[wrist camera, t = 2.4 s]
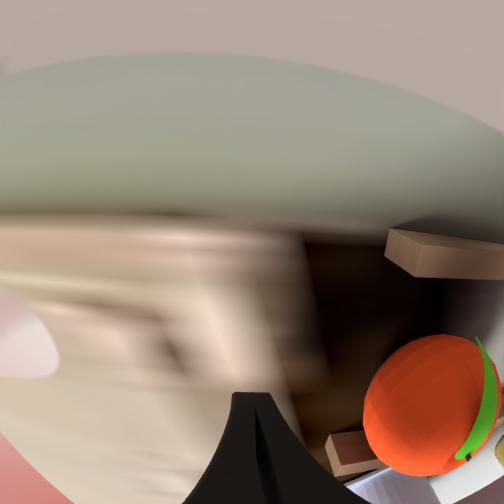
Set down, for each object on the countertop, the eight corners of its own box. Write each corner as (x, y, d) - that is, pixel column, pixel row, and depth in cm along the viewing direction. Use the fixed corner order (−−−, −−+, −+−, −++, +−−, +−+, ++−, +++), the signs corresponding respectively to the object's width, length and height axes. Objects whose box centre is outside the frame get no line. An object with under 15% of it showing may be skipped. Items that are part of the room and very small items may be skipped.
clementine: (353, 299, 13) (441, 410, 6) (468, 280, 13) (562, 346, 6) (337, 422, 15) (375, 523, 8) (435, 395, 16) (490, 469, 9)
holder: (573, 257, 14) (593, 267, 12) (519, 393, 18) (533, 407, 15) (389, 228, 12) (421, 244, 10) (324, 446, 16) (334, 476, 13)
